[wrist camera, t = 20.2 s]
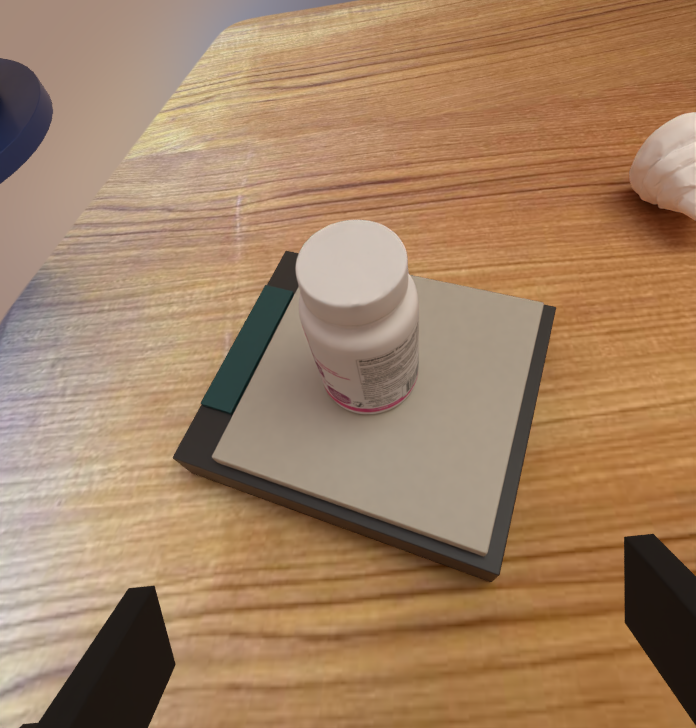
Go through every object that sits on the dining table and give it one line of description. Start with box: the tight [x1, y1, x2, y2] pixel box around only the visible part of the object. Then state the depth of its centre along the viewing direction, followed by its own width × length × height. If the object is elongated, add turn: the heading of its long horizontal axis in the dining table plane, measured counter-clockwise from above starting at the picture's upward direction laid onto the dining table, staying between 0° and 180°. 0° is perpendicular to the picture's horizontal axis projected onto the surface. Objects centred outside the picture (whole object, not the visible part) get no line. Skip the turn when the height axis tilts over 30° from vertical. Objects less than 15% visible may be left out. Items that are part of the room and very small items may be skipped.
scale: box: [173, 251, 556, 582], centre depth 26 cm, size 16×14×3 cm
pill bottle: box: [295, 220, 419, 414], centre depth 21 cm, size 5×5×8 cm
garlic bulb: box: [629, 112, 696, 221], centre depth 29 cm, size 6×6×5 cm
